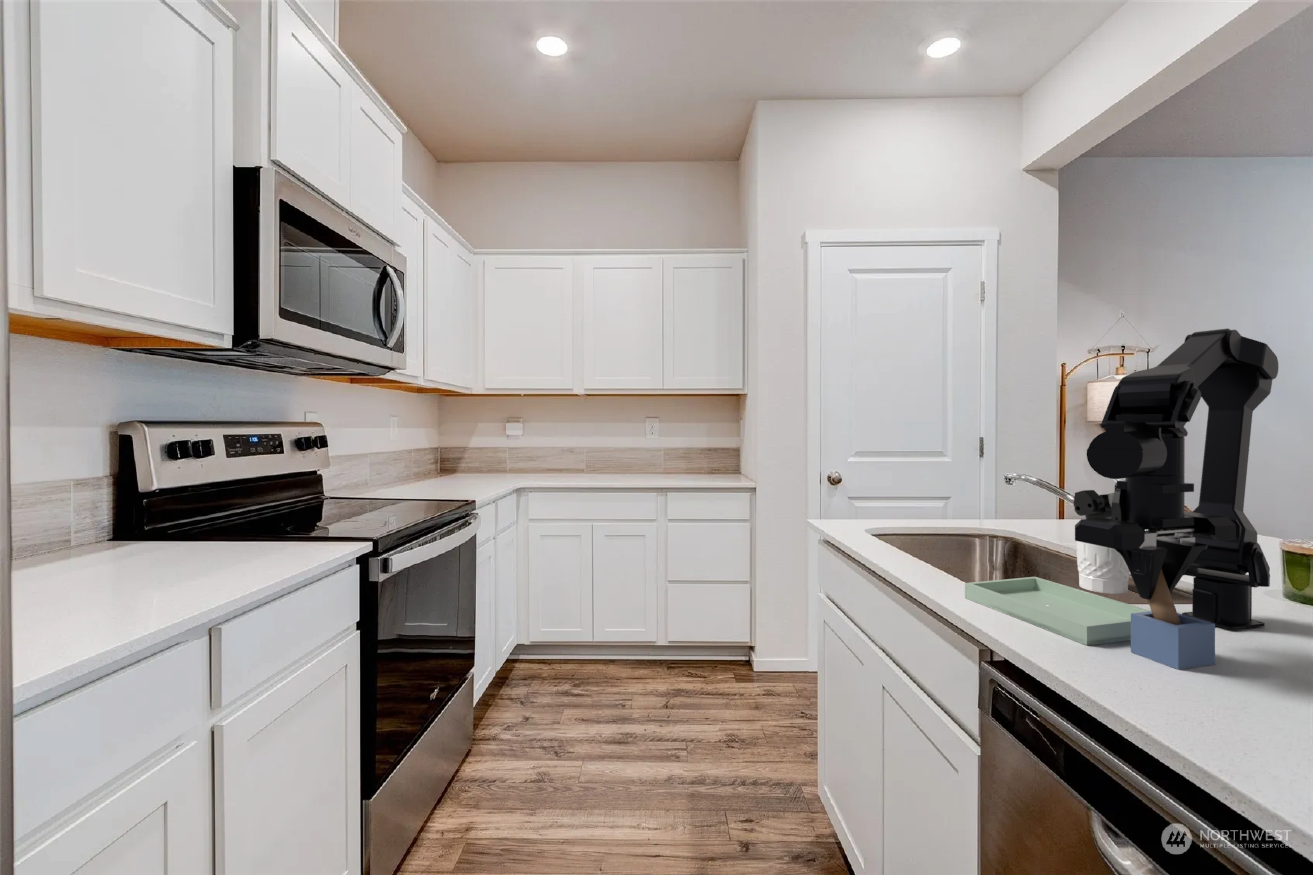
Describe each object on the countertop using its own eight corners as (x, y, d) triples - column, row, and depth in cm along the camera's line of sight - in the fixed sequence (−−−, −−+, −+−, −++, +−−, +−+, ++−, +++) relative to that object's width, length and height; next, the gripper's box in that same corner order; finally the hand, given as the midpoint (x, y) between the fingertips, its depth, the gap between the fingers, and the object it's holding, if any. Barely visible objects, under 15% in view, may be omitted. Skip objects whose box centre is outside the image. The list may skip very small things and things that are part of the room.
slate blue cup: (1165, 647, 77) (1165, 609, 77) (1214, 664, 72) (1215, 623, 72) (1130, 651, 76) (1130, 613, 76) (1178, 669, 70) (1178, 628, 70)
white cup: (1142, 596, 99) (1142, 535, 99) (1089, 594, 100) (1088, 535, 100) (1116, 583, 107) (1116, 527, 106) (1066, 582, 108) (1066, 526, 108)
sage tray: (1035, 591, 103) (1035, 576, 103) (1171, 634, 81) (1171, 616, 81) (964, 598, 100) (964, 583, 100) (1086, 645, 78) (1086, 626, 78)
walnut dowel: (1145, 635, 78) (1145, 557, 78) (1193, 651, 72) (1193, 567, 72) (1131, 637, 77) (1130, 558, 77) (1178, 653, 72) (1178, 568, 72)
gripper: (1147, 467, 85) (1147, 576, 86) (1038, 472, 81) (1038, 586, 81) (1239, 473, 74) (1238, 598, 75) (1118, 479, 70) (1118, 611, 71)
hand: (1154, 597), depth 76 cm, fingers closed on walnut dowel, 2 cm apart
